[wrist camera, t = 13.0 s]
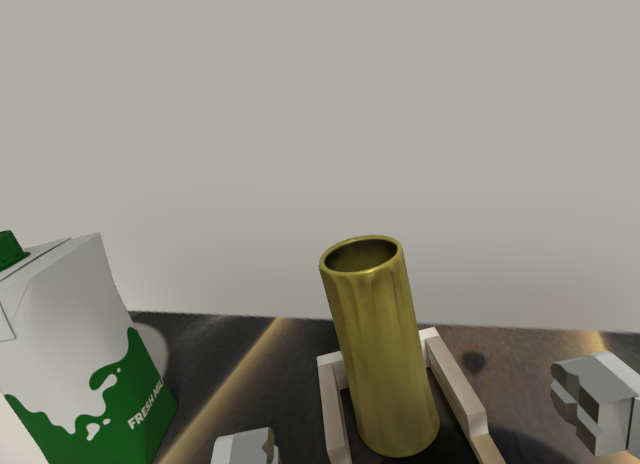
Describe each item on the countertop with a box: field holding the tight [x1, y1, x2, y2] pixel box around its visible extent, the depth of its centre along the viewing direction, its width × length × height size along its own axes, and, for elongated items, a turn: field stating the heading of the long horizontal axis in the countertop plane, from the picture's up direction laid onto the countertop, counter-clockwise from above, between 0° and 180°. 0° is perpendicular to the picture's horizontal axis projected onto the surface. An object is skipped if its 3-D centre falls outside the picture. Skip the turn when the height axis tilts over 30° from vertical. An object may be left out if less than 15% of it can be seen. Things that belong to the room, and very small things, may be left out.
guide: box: [317, 327, 506, 464], centre depth 24 cm, size 10×20×3 cm, turn 4°
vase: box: [319, 235, 440, 458], centre depth 26 cm, size 6×6×14 cm
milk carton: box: [0, 230, 178, 464], centre depth 30 cm, size 9×9×20 cm
